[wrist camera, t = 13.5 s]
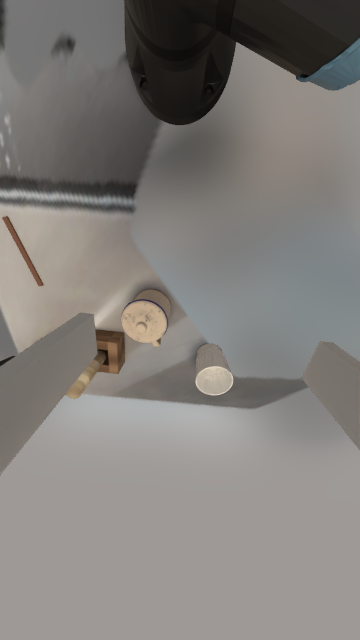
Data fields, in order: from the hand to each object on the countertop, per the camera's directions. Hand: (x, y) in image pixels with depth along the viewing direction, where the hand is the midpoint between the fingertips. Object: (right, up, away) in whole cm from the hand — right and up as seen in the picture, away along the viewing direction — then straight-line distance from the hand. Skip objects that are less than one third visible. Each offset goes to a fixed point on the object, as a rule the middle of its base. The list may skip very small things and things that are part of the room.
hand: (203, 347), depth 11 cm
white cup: (+6, -7, +37) cm, 38 cm away
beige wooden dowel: (-20, -5, +37) cm, 43 cm away
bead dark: (-21, -5, +37) cm, 43 cm away
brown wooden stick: (-35, +16, +28) cm, 48 cm away
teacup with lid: (-7, +3, +33) cm, 34 cm away
